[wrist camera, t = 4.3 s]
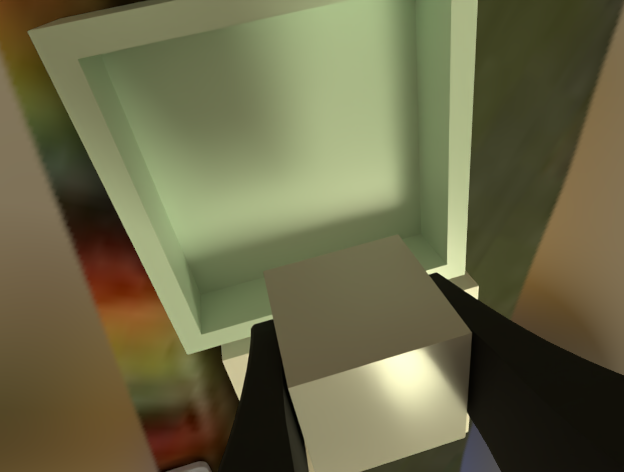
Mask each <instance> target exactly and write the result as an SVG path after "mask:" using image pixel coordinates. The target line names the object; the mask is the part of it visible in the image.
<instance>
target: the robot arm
mask: <svg viewBox="0 0 624 472" xmlns="http://www.w3.org/2000/svg"><path fill="white" fill-rule="evenodd" d="M429 276H430V277H431V279H432V280H433V281H434V283H435V284H436V285H437V287H438V288H439V289H440V291H441V292H442V293H443V295H444V296H445V297H446V299H447V300H448V301H449V303H450V304H451V305H452V307H453V308H454V309H455V311H456V312H457V313H458V315H459V316H460V317H461V319H462V320H463V321H464V323H465V324H466V325H467V327H468V328H469V329H470V331H471V332H472V341H471V356H470V371H469V386H468V401H467V413H468V415H469V416H470V418H471V420H472V421H473V423H474V424H475V426H476V427H477V428H478V430H479V432H480V434H481V435H482V437H483V439H484V440H485V442H486V444H487V446H488V447H489V449H490V451H491V453H492V455H493V457H494V459H495V461H496V463H497V465H498V466H499V468H500V470H501V472H624V375H621V374H619V373H616V372H614V371H611V370H609V369H607V368H604V367H602V366H599V365H597V364H594V363H592V362H590V361H588V360H586V359H583V358H581V357H579V356H577V355H575V354H573V353H571V352H569V351H566V350H564V349H562V348H560V347H558V346H556V345H554V344H552V343H550V342H548V341H546V340H544V339H543V338H541V337H539V336H537V335H535V334H533V333H532V332H530V331H528V330H526V329H524V328H523V327H521V326H519V325H518V324H516V323H514V322H512V321H511V320H509V319H508V318H506V317H504V316H503V315H501V314H499V313H498V312H496V311H495V310H493V309H491V308H490V307H488V306H487V305H485V304H484V303H482V302H481V301H479V300H477V299H476V298H474V297H473V296H471V295H470V294H468V293H467V292H465V291H464V290H463V289H461V288H460V287H458V286H457V285H455V284H454V283H452V282H451V281H449V280H448V279H446V278H445V277H443V276H442V275H440V274H439V273H437V272H436V273H432V274H429ZM166 472H212V470H211V469H210V467H209V465H208V464H207V463H206V462H204V461H198V462H195V463H192V464H188V465H185V466H182V467H179V468H176V469H172V470H169V471H166ZM218 472H309V469H308V462H307V455H306V448H305V441H304V437H303V434H302V431H301V427H300V424H299V421H298V418H297V415H296V412H295V408H294V405H293V402H292V399H291V396H290V393H289V390H288V385H287V381H286V376H285V372H284V367H283V362H282V358H281V353H280V348H279V344H278V339H277V334H276V330H275V325H274V320H273V319H271V320H268V321H264V322H261V323H257V324H254V325H253V326H252V328H251V339H250V349H249V357H248V363H247V369H246V374H245V379H244V384H243V388H242V393H241V397H240V401H239V405H238V409H237V412H236V416H235V420H234V423H233V427H232V430H231V434H230V437H229V440H228V443H227V446H226V449H225V452H224V455H223V458H222V460H221V463H220V466H219V469H218Z"/></svg>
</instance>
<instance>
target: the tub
mask: <svg viewBox="0 0 624 472" xmlns="http://www.w3.org/2000/svg"><path fill="white" fill-rule="evenodd" d="M477 6H478V0H147V1H142V2H137V3H132V4H127V5H122V6H118V7H113V8H108V9H103V10H98V11H93V12H88V13H84V14H79V15H74V16H69V17H64V18H60V19H57V20H55V21H52V22H50V23H47V24H44V25H42V26H39V27H37V28H34V29H31V30H29V31H27V32H28V34H29V36H30V38H31V40H32V42H33V44H34V46H35V48H36V50H37V52H38V54H39V56H40V58H41V60H42V62H43V64H44V66H45V68H46V70H47V72H48V74H49V76H50V78H51V80H52V82H53V84H54V86H55V88H56V90H57V92H58V94H59V96H60V98H61V100H62V103H63V105H64V107H65V109H66V111H67V113H68V115H69V117H70V119H71V121H72V123H73V125H74V127H75V129H76V131H77V133H78V135H79V137H80V139H81V141H82V143H83V145H84V147H85V149H86V151H87V153H88V155H89V157H90V159H91V161H92V163H93V165H94V167H95V169H96V171H97V173H98V175H99V177H100V179H101V181H102V183H103V185H104V187H105V189H106V191H107V193H108V195H109V197H110V199H111V201H112V203H113V205H114V207H115V210H116V212H117V214H118V216H119V218H120V220H121V222H122V224H123V226H124V228H125V230H126V232H127V234H128V236H129V238H130V240H131V242H132V244H133V246H134V248H135V250H136V252H137V254H138V256H139V258H140V260H141V262H142V264H143V266H144V268H145V270H146V272H147V274H148V276H149V278H150V280H151V282H152V284H153V286H154V288H155V290H156V292H157V294H158V296H159V298H160V300H161V302H162V304H163V306H164V308H165V310H166V312H167V314H168V316H169V319H170V321H171V323H172V325H173V327H174V329H175V331H176V333H177V335H178V337H179V339H180V341H181V343H182V345H183V347H184V349H185V351H186V353H187V355H188V354H192V353H195V352H199V351H202V350H205V349H209V348H212V347H216V346H219V345H223V344H226V343H230V342H233V341H237V340H240V339H244V338H247V337H250V336H251V328H252V326H253V325H254V324H257V323H261V322H264V321H268V320H271V319H273V316H272V311H271V307H270V302H269V297H268V293H267V288H266V283H265V279H264V274H263V271H266V270H270V269H273V268H277V267H280V266H284V265H288V264H291V263H295V262H299V261H302V260H306V259H310V258H313V257H317V256H321V255H324V254H328V253H332V252H335V251H339V250H343V249H346V248H350V247H353V246H357V245H361V244H364V243H368V242H372V241H375V240H379V239H383V238H386V237H390V236H394V235H397V234H398V235H399V236H400V237H401V239H402V240H403V241H404V243H405V244H406V245H407V247H408V248H409V249H410V251H411V252H412V253H413V255H414V256H415V257H416V259H417V260H418V261H419V263H420V264H421V265H422V267H423V268H424V269H425V271H426V272H427V273H428V275H429V274H432V273H436V272H437V273H439V274H440V275H442V276H443V277H445V278H446V279H451V278H455V277H458V276H461V275H465V260H466V239H467V218H468V197H469V176H470V154H471V133H472V112H473V91H474V70H475V48H476V27H477Z"/></svg>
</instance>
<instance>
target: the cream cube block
mask: <svg viewBox="0 0 624 472" xmlns="http://www.w3.org/2000/svg"><path fill="white" fill-rule="evenodd" d="M263 274H264V279H265V283H266V288H267V293H268V297H269V302H270V307H271V311H272V316H273V320H274V325H275V330H276V334H277V339H278V344H279V348H280V353H281V358H282V362H283V367H284V372H285V376H286V381H287V385H288V390H289V393H290V396H291V399H292V402H293V405H294V408H295V412H296V415H297V418H298V421H299V424H300V427H301V431H302V434H303V437H304V440H305V443H306V446H307V449H308V453H309V456H310V459H311V462H312V465H313V468H314V472H361V471H364V470H367V469H370V468H373V467H376V466H379V465H382V464H385V463H388V462H391V461H395V460H398V459H401V458H404V457H407V456H410V455H413V454H416V453H419V452H422V451H425V450H428V449H431V448H434V447H437V446H440V445H443V444H447V443H450V442H453V441H456V440H459V439H462V438H465V432H466V416H467V401H468V386H469V371H470V356H471V341H472V332H471V331H470V329H469V328H468V327H467V325H466V324H465V323H464V321H463V320H462V319H461V317H460V316H459V315H458V313H457V312H456V311H455V309H454V308H453V307H452V305H451V304H450V303H449V301H448V300H447V299H446V297H445V296H444V295H443V293H442V292H441V291H440V289H439V288H438V287H437V285H436V284H435V283H434V281H433V280H432V279H431V277H430V276H429V275H428V273H427V272H426V271H425V269H424V268H423V267H422V265H421V264H420V263H419V261H418V260H417V259H416V257H415V256H414V255H413V253H412V252H411V251H410V249H409V248H408V247H407V245H406V244H405V243H404V241H403V240H402V239H401V237H400V236H399V235H398V234H397V235H394V236H390V237H386V238H383V239H379V240H375V241H372V242H368V243H364V244H361V245H357V246H353V247H350V248H346V249H343V250H339V251H335V252H332V253H328V254H324V255H321V256H317V257H313V258H310V259H306V260H302V261H299V262H295V263H291V264H288V265H284V266H280V267H277V268H273V269H270V270H266V271H263Z"/></svg>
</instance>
